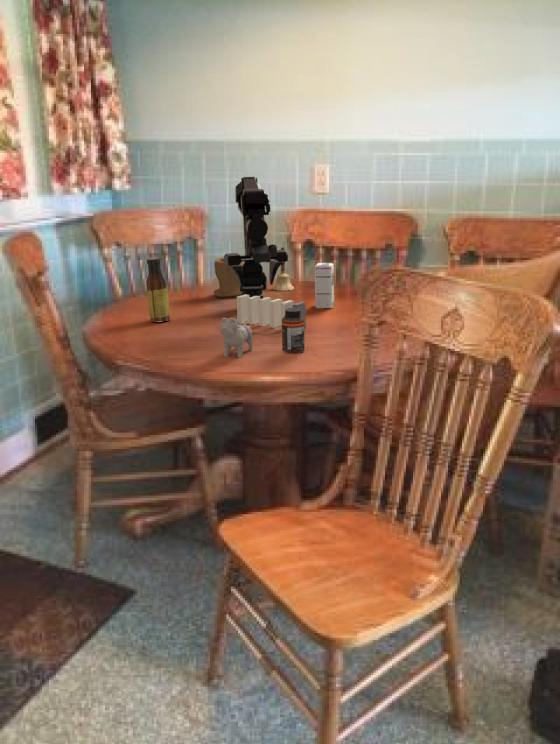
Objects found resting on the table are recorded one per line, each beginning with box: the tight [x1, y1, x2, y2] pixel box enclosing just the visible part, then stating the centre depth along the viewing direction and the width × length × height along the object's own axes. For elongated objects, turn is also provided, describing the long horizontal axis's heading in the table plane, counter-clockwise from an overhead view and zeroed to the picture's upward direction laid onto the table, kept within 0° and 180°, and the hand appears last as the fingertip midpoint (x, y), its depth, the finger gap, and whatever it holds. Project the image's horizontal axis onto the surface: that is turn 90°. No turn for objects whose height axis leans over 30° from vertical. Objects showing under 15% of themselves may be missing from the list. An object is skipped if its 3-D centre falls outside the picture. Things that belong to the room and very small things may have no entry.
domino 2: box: [247, 296, 260, 325], centre depth 204 cm, size 2×4×8 cm, turn 144°
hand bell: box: [272, 246, 295, 292], centre depth 252 cm, size 8×8×16 cm
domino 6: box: [293, 301, 307, 330], centre depth 194 cm, size 2×4×8 cm, turn 144°
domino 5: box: [280, 299, 295, 330], centre depth 197 cm, size 2×4×8 cm, turn 144°
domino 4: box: [269, 298, 283, 329], centre depth 199 cm, size 2×4×8 cm, turn 144°
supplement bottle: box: [281, 308, 305, 354], centre depth 173 cm, size 6×6×11 cm
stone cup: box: [213, 256, 244, 298], centre depth 242 cm, size 15×12×15 cm
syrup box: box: [314, 262, 335, 309], centre depth 222 cm, size 6×6×14 cm
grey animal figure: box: [219, 317, 253, 358], centre depth 171 cm, size 5×13×11 cm, turn 158°
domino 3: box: [258, 296, 272, 327], centre depth 201 cm, size 2×4×8 cm, turn 144°
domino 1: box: [236, 294, 250, 323], centre depth 206 cm, size 2×4×8 cm, turn 144°
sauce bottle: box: [145, 257, 171, 322], centre depth 206 cm, size 7×6×20 cm
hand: (256, 285), depth 201 cm, fingers open, 9 cm apart
